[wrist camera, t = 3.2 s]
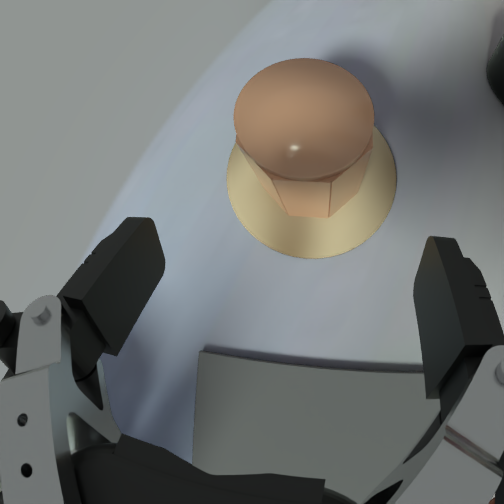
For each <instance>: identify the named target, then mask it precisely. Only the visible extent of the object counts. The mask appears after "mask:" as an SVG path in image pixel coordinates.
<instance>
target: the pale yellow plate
mask: <svg viewBox="0 0 504 504" xmlns="http://www.w3.org/2000/svg"><path fill="white" fill-rule="evenodd" d="M372 133H373V149H372V152H371V155H370V158H369V161H368V164H367V167H366V170H365V173H364V176H363V179H362V182H361V185H360V188H359V191H358V193H357V194H356V195H355V196H354V197H353V198H352V199H350V200H349V201H348V202H347V203H346V204H345V205H344V206H342V207H341V208H340V209H339V210H338V211H337V212H336V213H334V214H333V215H332V216H331V217H330V218H329V217H328V218H317V217H301V216H289V215H287V214H286V213H285V211H284V210H283V209H282V208H281V207H280V206H279V205H278V204H277V202H276V201H275V200H274V199H273V198H272V197H271V196H270V195H269V194H268V192H267V191H266V190H265V189H264V188H263V187H262V185H261V183H260V182H259V180H258V178H257V177H256V175H255V173H254V172H253V170H252V168H251V167H250V165H249V163H248V162H247V160H246V158H245V157H244V155H243V153H242V152H241V150H240V148H239V147H238V145H237V144H236V143H235V145H234V147H233V149H232V152H231V155H230V158H229V163H228V168H227V189H228V194H229V198H230V201H231V204H232V207H233V209H234V211H235V213H236V215H237V217H238V219H239V220H240V221H241V223H242V224H243V226H244V227H245V228H246V229H247V230H248V231H249V232H250V233H251V234H252V235H253V236H254V237H255V238H256V239H258V240H259V241H260V242H261V243H263V244H264V245H266V246H268V247H269V248H271V249H273V250H275V251H278V252H280V253H282V254H286V255H289V256H293V257H299V258H306V259H319V258H327V257H332V256H336V255H340V254H342V253H345V252H347V251H350V250H352V249H354V248H355V247H357V246H359V245H361V244H362V243H363V242H365V241H366V240H367V239H368V238H370V237H371V236H372V235H373V234H374V233H375V232H376V231H377V230H378V228H379V227H380V226H381V224H382V223H383V222H384V220H385V219H386V217H387V215H388V213H389V211H390V209H391V206H392V203H393V200H394V196H395V191H396V168H395V163H394V159H393V156H392V153H391V151H390V148H389V146H388V144H387V142H386V141H385V139H384V137H383V136H382V135H381V133H380V132H379V131H378V129H377V128H376V127H375V126H374V125H373V130H372Z"/></svg>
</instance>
